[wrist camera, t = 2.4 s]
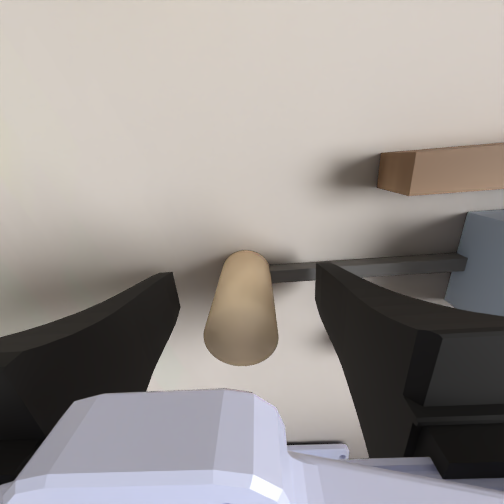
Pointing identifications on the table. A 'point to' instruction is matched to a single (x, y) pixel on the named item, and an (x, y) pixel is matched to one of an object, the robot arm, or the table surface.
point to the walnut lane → (443, 170)
